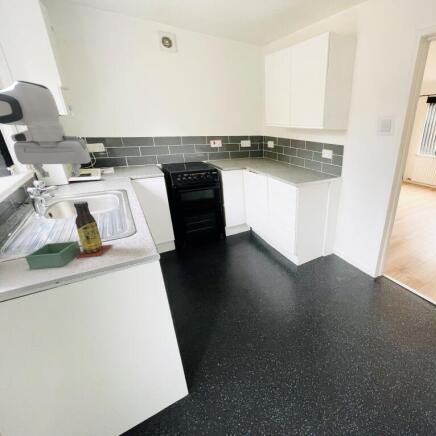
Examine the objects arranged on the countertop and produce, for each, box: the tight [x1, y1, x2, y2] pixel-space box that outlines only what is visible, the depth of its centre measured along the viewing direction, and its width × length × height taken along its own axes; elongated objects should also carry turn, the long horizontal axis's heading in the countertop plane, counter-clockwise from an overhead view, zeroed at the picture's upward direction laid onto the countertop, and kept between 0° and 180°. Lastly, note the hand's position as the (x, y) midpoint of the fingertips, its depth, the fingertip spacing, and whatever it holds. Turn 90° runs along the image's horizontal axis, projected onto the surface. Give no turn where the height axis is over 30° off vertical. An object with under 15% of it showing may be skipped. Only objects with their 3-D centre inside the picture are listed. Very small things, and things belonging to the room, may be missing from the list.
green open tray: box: [24, 240, 82, 270], centre depth 91 cm, size 10×11×5 cm
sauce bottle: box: [73, 200, 103, 253], centre depth 94 cm, size 6×6×20 cm
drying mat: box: [76, 244, 112, 259], centre depth 98 cm, size 8×9×1 cm
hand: (61, 176), depth 87 cm, fingers open, 8 cm apart
